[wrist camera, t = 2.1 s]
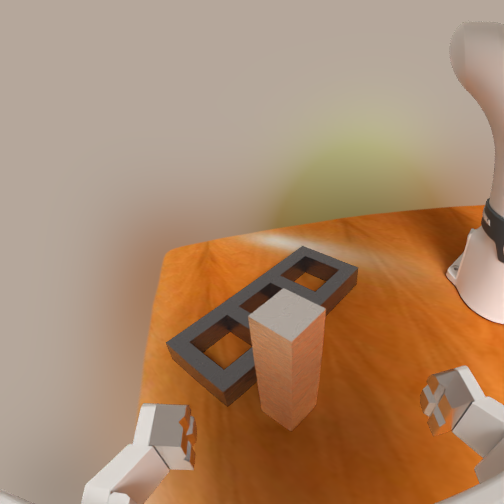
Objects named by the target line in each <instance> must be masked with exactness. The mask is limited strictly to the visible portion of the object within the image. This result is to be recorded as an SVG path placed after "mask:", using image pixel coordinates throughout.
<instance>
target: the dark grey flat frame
mask: <svg viewBox="0 0 504 504" xmlns="http://www.w3.org/2000/svg"><path fill="white" fill-rule="evenodd" d="M305 272H306V273H309V274H311V275H313V276H316V277H318V278H320V279H322V280H325V281H327V282H326V283H325V284H324V285H322V286H321V287H320V288H319V289H318V290H317V291H316V292H314V291H312V290H310V289H308V288H306V287H304V286H302V285H299V284H297V283H295V282H294V281H295V280H296V279H297V278H299V277H300V276H301V275H302V274H304V273H305ZM357 274H358V267H355V266H352V265H350V264H347V263H345V262H342V261H340V260H337V259H335V258H332V257H330V256H327V255H324V254H322V253H319V252H317V251H314V250H312V249H309V248H306V247H304V246H302V247H301V248H299V249H298V250H296V251H295V252H294V253H292V254H291V255H290V256H288V257H287V258H285V259H284V260H283V261H281V262H280V263H278V264H277V265H276V266H274V267H273V268H272V269H270V270H269V271H267V272H266V273H265V274H263V275H262V276H260V277H259V278H258V279H256V280H255V281H253V282H252V283H251V284H249V285H248V286H246V287H245V288H244V289H242V290H241V291H239V292H238V293H237V294H235V295H234V296H232V297H231V298H229V299H228V300H227V301H225V302H224V303H222V304H221V305H220V306H218V307H217V308H215V309H214V310H212V311H211V312H210V313H208V314H207V315H205V316H204V317H202V318H201V319H199V320H198V321H197V322H195V323H194V324H192V325H191V326H189V327H188V328H187V329H185V330H184V331H182V332H181V333H179V334H178V335H176V336H175V337H173V338H172V339H171V340H169V341H168V342H166V344H167V347H168V349H169V352H170V354H171V357H172V359H173V360H174V361H175V362H176V363H178V364H179V365H180V366H181V367H182V368H183V369H184V370H185V371H186V372H187V373H189V374H190V375H191V376H192V377H193V378H194V379H195V380H197V381H198V382H199V383H200V384H201V385H202V386H203V387H205V388H206V389H207V390H208V391H209V392H210V393H212V394H213V395H214V396H215V397H216V398H218V399H219V400H220V401H221V402H222V403H224V404H225V405H226V406H227V407H228V406H229V405H230V404H232V403H233V402H234V401H235V400H236V399H237V398H239V397H240V396H241V395H242V394H243V393H244V392H246V391H247V390H248V389H249V388H250V387H251V386H252V385H253V384H255V383H256V382H257V376H256V369H255V363H254V356H253V349H252V348H250V349H249V350H248V351H247V352H246V353H244V354H243V355H242V356H241V357H239V358H238V359H237V360H236V361H235V362H233V363H232V364H231V365H230V366H228V367H227V368H226V369H225V370H224V369H222V368H221V367H220V366H218V365H217V364H216V363H214V362H213V361H212V360H211V359H209V358H208V357H207V356H206V355H204V354H203V353H202V352H204V351H205V350H206V349H208V348H209V347H210V346H212V345H213V344H214V343H216V342H217V341H218V340H220V339H221V338H222V337H224V336H225V335H226V334H228V333H229V332H232V333H233V334H235V335H236V336H238V337H239V338H241V339H242V340H244V341H245V342H247V343H248V344H250V345H251V346H252V342H251V334H250V327H249V320H248V316H249V315H250V314H251V313H253V312H254V311H255V310H256V309H258V308H259V307H260V306H262V305H263V304H264V303H265V302H267V301H268V300H269V299H270V298H272V297H273V296H274V295H275V294H277V293H278V292H279V291H281V290H282V289H283V288H284V289H287V290H289V291H291V292H293V293H295V294H297V295H299V296H301V297H303V298H305V299H307V300H309V301H311V302H313V303H315V304H317V305H319V306H322V307H324V308H326V315H327V314H328V313H329V312H330V311H331V310H332V309H333V308H334V307H335V306H336V305H337V304H338V303H339V302H340V301H341V300H342V299H343V298H344V297H345V296H346V295H347V294H348V293H349V291H350V290H351V289H352V288H353V287H354V286H355V285H356V282H357ZM326 315H325V316H326Z"/></svg>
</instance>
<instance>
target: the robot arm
mask: <svg viewBox="0 0 504 504" xmlns="http://www.w3.org/2000/svg"><path fill="white" fill-rule="evenodd" d="M450 60H451V65H452V68H453V70H454V73H455V75H456V77H457V78H458V80H459V82H460V83H461V84H462V86H463V87H464V88H465V89H466V90H467V91H468V92H469V93H470V94H471V95H472V96H473V97H474V99H475V100H476V101H477V102H478V104H479V105H480V107H481V108H482V110H483V111H484V113H485V115H486V117H487V119H488V121H489V124H490V127H491V130H492V134H493V138H494V144H495V164H494V165H495V166H494V175H493V183H492V189H491V194H490V198H489V199H487V201H486V205H485V207H484V210H483V217H482V221H481V226H480V227H479V228H477V229H476V230H475V229H471V231H470V233H469V235H468V237H467V243H466V247H465V250H464V252H463V253H462V254H461V255H460V256H459V257H458V259H457V260H456V261H455V262H454V263H453V264H452V265H451V266H450V267H449V268H448V270H447V272H446V276H447V278H448V279H449V280H450V281H451V282H452V283H453V284H454V285H455V286H456V287H457V289H458V292H459V294H460V296H461V297H462V299H463V300H464V302H465V303H466V304H467V305H468V306H469V307H470V308H471V309H472V310H474V311H475V312H476V313H478V314H479V315H481V316H482V317H484V318H486V319H488V320H491V321H493V322H497V323H501V324H504V24H500V23H496V22H463V23H462V24H461V25H460V26H459V27H458V28H457V29H456V30H455V32H454V34H453V36H452V38H451V43H450ZM427 384H428V385H427V386H426V387H425V388H424V389H423V390H422V392H421V395H420V404H421V408H422V411H423V413H424V414H426V415H427V416H429V418H428V422H427V423H428V425H429V428H430V430H431V432H432V435H433V436H437V435H440V434H443V433H446V432H449V431H452V430H453V431H452V432H453V433H454V434H455V435H456V436H458V437H459V438H460V439H461V440H462V441H464V442H465V443H466V444H467V445H468V446H470V447H471V448H472V449H473V450H474V451H476V452H477V453H478V454H479V455H480V456H482V457H483V459H482V460H481V461H480V462H479V463H478V464H477V465H476V467H475V469H474V470H475V472H476V475H477V478H478V480H479V483H480V484H478V485H476V486H474V487H472V488H470V489H468V490H465V491H463V492H461V493H459V494H456V495H454V496H452V497H449V498H447V499H445V500H442V501H440V502H437V503H434V504H504V405H502V404H501V403H499V402H497V401H496V400H494V399H492V398H491V397H489V396H488V397H485V395H484V393H483V391H482V390H481V388H480V386H479V385H478V383H477V381H476V379H475V378H474V376H473V374H472V373H471V371H470V369H469V368H468V367H467V366H461V367H457V368H454V369H450V370H446V371H443V372H440V373H436V374H433V375H431V376H429V378H428V380H427ZM196 440H197V428H196V422H195V419H194V417H192V416H191V409H190V407H189V405H172V404H151V403H143V405H142V407H141V409H140V414H139V418H138V422H137V427H136V431H135V436H134V440H133V444H128V445H127V446H126V447H125V448H124V449H123V450H122V451H121V452H120V453H119V454H118V455H117V456H116V457H115V458H114V459H112V461H110V462H109V463H108V464H107V465H106V466H105V467H104V468H103V469H102V470H101V471H100V472H99V473H98V474H97V475H96V476H95V477H93V478H92V479H91V480H90V481H89V482H88V483H87V484H86V486H85V489H84V494H83V498H82V502H81V504H144V503H145V501H146V500H147V499H148V498H149V496H150V495H151V494H152V493H153V491H154V490H155V489H156V488H157V486H158V485H159V484H160V483H161V481H162V480H163V479H164V477H165V476H166V475H167V474H168V472H169V471H170V470H169V469H177V470H194V464H195V452H194V450H193V447H192V446H193V445H194V444H195V443H196ZM0 504H35V503H32V502H29V501H27V500H25V499H22V498H20V497H17V496H15V495H13V494H11V493H9V492H7V491H4V490H2V489H0Z"/></svg>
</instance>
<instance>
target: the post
mask: <svg viewBox="0 0 504 504" xmlns="http://www.w3.org/2000/svg"><path fill="white" fill-rule="evenodd" d="M325 315H326V308H324V307H322V306H319V305H317V304H315V303H313V302H311V301H309V300H307V299H305V298H303V297H301V296H299V295H297V294H295V293H293V292H291V291H289V290H287V289H284V288H283V289H282V290H281V291H279V292H278V293H277V294H275V295H274V296H273V297H272V298H270V299H269V300H268V301H267V302H265V303H264V304H263V305H262V306H260V307H259V308H258V309H256V310H255V311H254V312H253V313H251V314H250V315H249V316H248V320H249V327H250V334H251V342H252V349H253V356H254V363H255V369H256V376H257V383H258V390H259V397H260V404H261V410H262V411H263V412H264V413H265V414H267V415H268V416H270V417H271V418H272V419H274V420H275V421H277V422H278V423H280V424H281V425H282V426H284V427H285V428H287V429H288V430H290V431H292V430H293V429H294V428H295V427H296V426H297V425H298V424H299V423H300V422H301V421H302V420H303V419H304V418H305V417H306V416H307V415H308V414H309V413H310V411H311V410H312V409H313V408H314V407H315V406H316V402H317V394H318V386H319V377H320V368H321V359H322V349H323V339H324V327H325Z"/></svg>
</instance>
